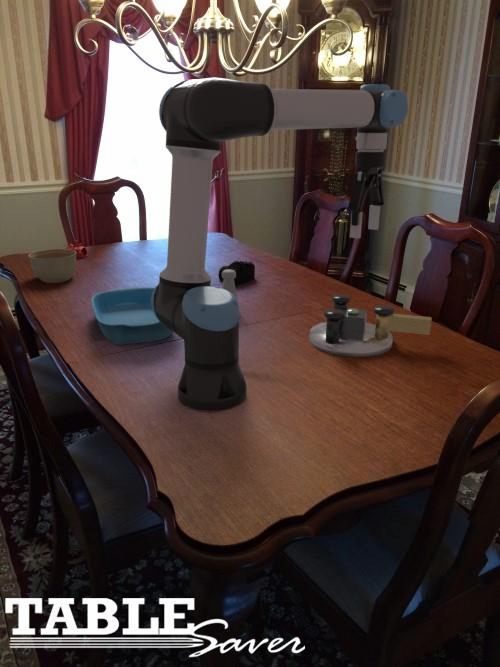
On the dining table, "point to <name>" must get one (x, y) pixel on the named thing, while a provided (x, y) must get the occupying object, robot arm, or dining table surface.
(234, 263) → the film camera
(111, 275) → the dining table surface
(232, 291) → the salt shaker
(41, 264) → the planter bowl
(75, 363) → the dining table surface
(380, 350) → the levelling base
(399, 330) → the brass bar with knob
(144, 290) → the casserole dish
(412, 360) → the dining table surface
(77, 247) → the pomegranate
